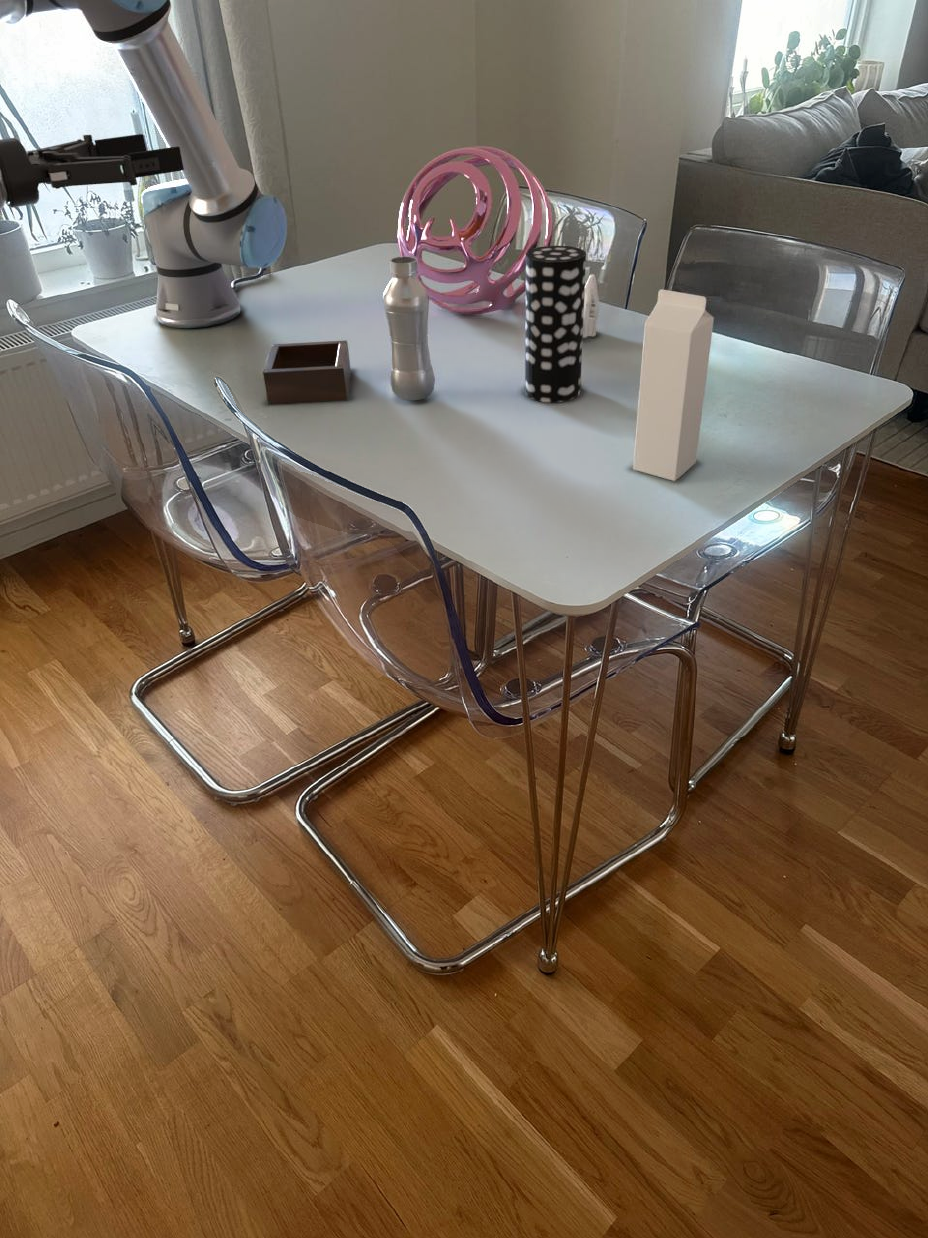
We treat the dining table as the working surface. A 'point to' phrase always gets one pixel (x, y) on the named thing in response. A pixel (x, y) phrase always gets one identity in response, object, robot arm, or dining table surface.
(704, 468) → the dining table surface
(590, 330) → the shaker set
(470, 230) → the spiral basket
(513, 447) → the dining table surface
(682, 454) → the milk
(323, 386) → the box
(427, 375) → the silver metal bottle
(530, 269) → the spotted tube
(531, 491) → the dining table surface
